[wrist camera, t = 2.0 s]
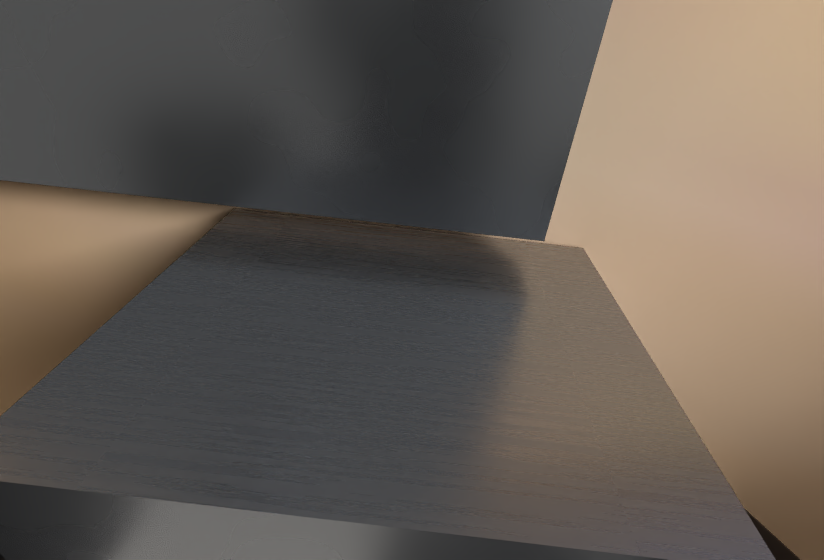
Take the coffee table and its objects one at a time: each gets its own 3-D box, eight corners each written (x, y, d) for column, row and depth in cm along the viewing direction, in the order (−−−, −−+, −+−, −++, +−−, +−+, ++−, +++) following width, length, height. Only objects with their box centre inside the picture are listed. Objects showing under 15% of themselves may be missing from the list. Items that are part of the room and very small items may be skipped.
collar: (508, 465, 10) (553, 776, 6) (265, 437, 10) (139, 727, 6) (582, 247, 7) (783, 572, 3) (234, 208, 7) (-66, 474, 3)
